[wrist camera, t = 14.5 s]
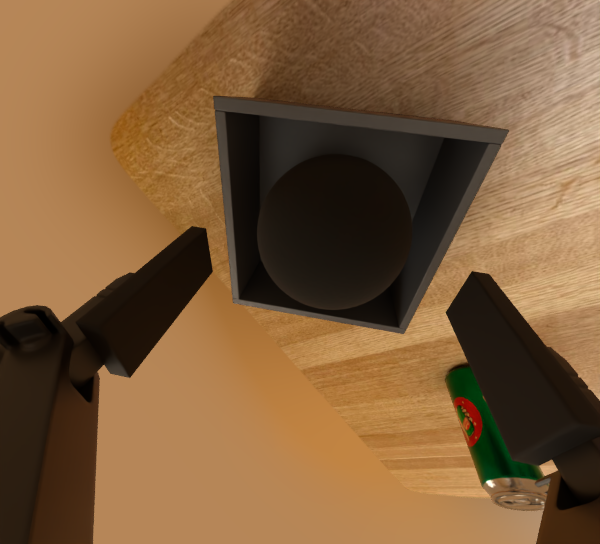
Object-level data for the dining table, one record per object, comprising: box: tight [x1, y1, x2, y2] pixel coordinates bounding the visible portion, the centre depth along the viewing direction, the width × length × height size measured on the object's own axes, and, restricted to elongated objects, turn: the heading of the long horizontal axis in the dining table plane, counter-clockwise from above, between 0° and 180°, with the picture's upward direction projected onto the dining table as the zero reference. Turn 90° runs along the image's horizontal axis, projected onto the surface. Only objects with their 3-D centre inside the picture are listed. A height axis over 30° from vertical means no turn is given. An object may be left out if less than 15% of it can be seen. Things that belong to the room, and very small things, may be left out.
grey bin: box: [213, 96, 509, 334], centre depth 18 cm, size 14×14×6 cm
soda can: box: [445, 366, 549, 511], centre depth 26 cm, size 5×5×12 cm
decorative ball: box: [257, 154, 412, 310], centre depth 17 cm, size 10×10×10 cm
